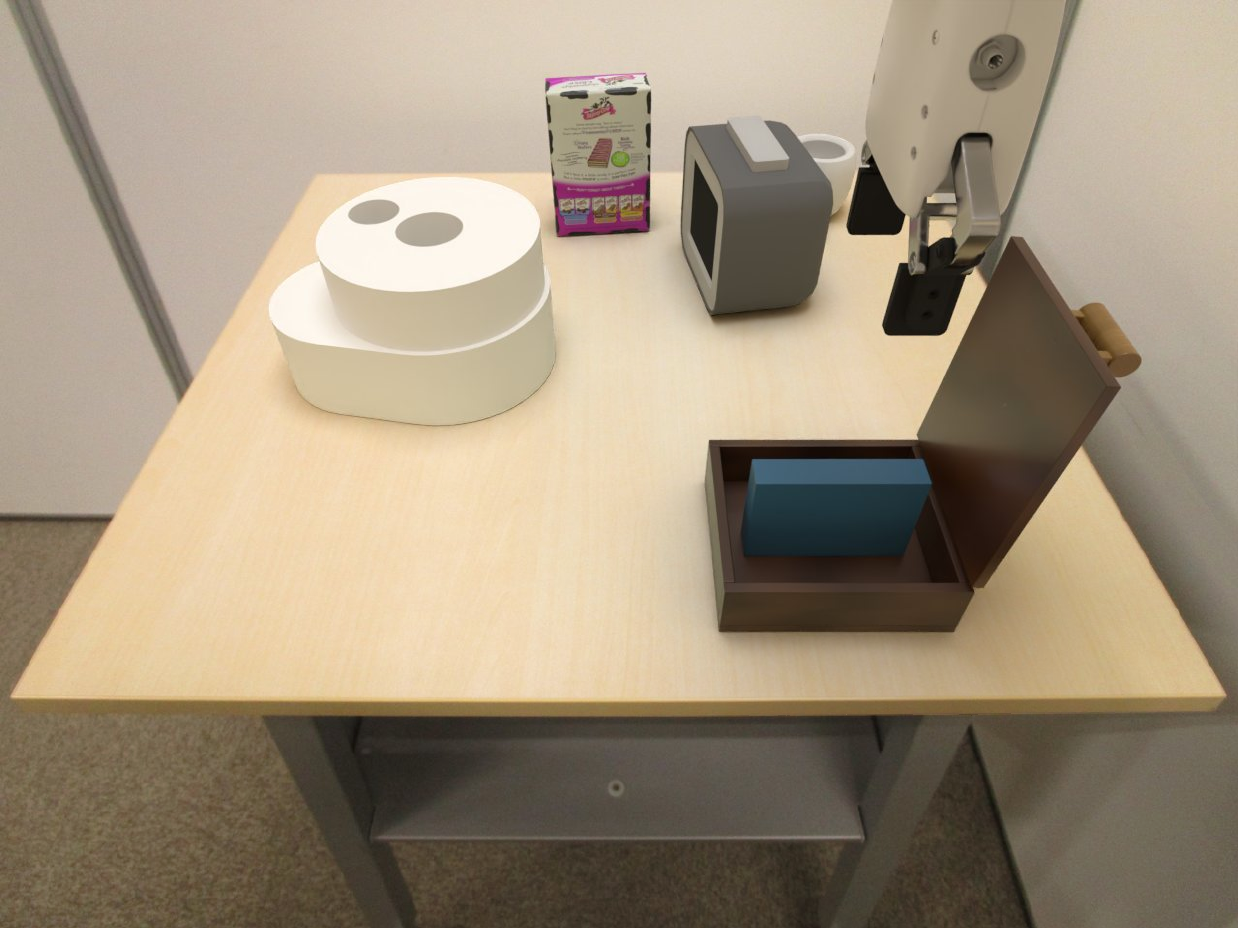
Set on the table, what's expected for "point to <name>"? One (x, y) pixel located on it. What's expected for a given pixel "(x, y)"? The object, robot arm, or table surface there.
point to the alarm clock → (752, 215)
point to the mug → (833, 162)
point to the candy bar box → (600, 152)
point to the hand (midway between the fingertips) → (891, 279)
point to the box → (829, 557)
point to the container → (421, 305)
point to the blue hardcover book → (832, 506)
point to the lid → (1017, 405)
